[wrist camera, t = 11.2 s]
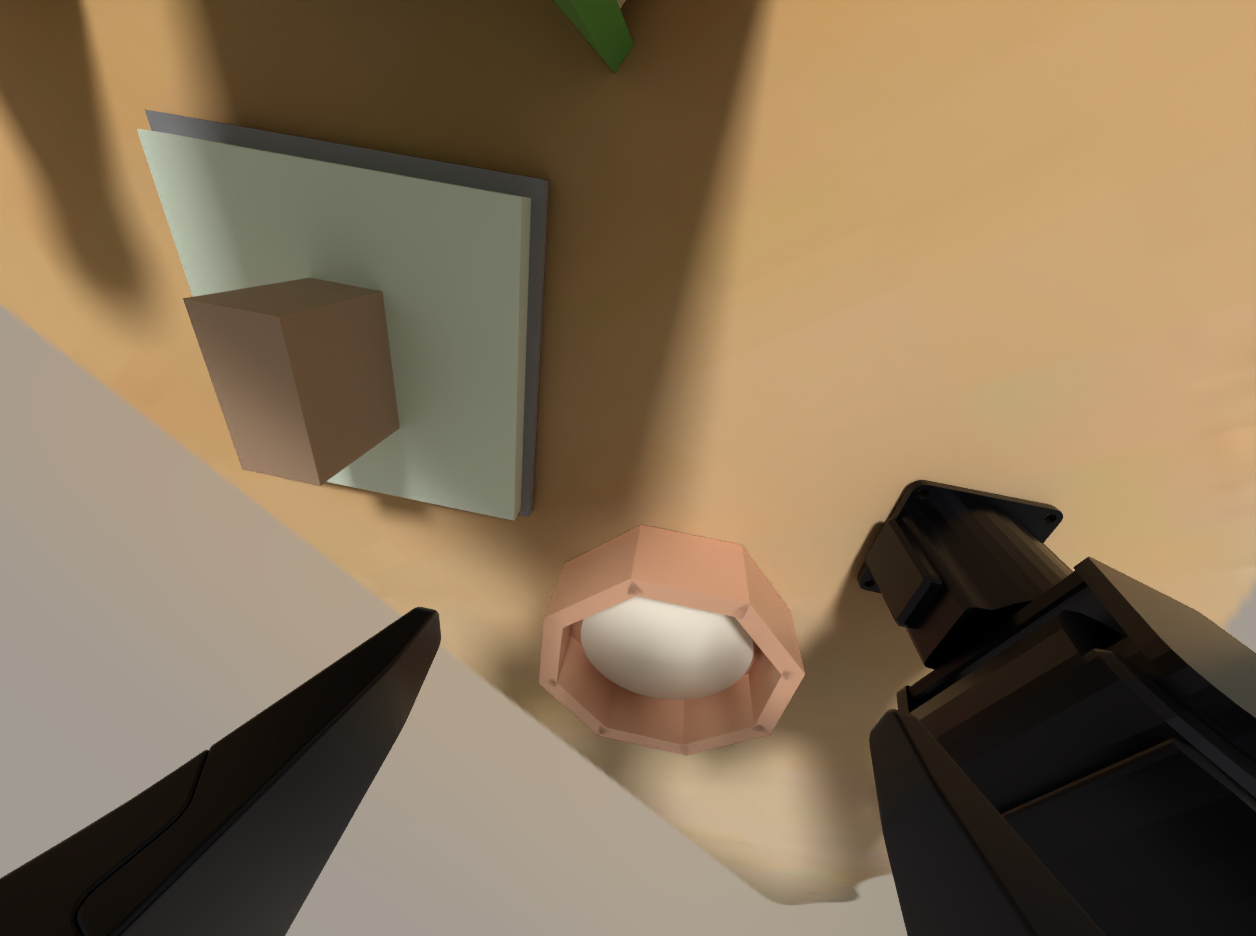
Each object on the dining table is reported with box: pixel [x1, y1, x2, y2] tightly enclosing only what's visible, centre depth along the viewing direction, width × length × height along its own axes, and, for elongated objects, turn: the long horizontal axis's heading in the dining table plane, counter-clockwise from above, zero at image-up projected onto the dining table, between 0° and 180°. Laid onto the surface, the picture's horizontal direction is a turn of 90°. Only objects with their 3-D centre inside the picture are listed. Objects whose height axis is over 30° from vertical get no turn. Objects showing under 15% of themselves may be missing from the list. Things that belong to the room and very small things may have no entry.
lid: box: [137, 129, 531, 521], centre depth 17 cm, size 14×14×6 cm
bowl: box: [539, 525, 805, 755], centre depth 25 cm, size 13×13×4 cm
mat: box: [145, 110, 549, 517], centre depth 20 cm, size 15×15×1 cm
